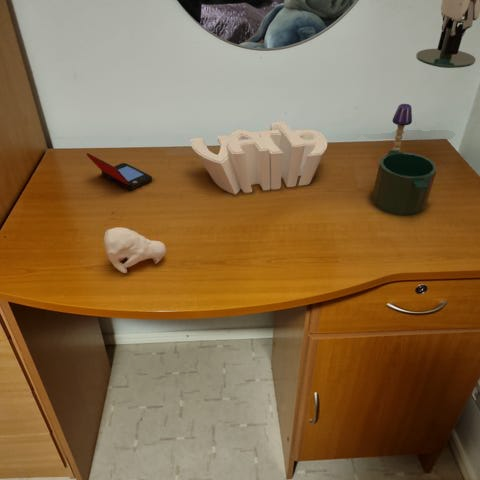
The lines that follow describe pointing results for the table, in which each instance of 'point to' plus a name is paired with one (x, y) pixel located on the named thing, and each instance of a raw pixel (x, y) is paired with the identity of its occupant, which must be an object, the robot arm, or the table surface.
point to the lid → (445, 56)
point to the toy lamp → (401, 122)
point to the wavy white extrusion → (263, 158)
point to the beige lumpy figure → (130, 248)
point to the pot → (403, 183)
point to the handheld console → (122, 173)
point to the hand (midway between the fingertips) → (447, 51)
